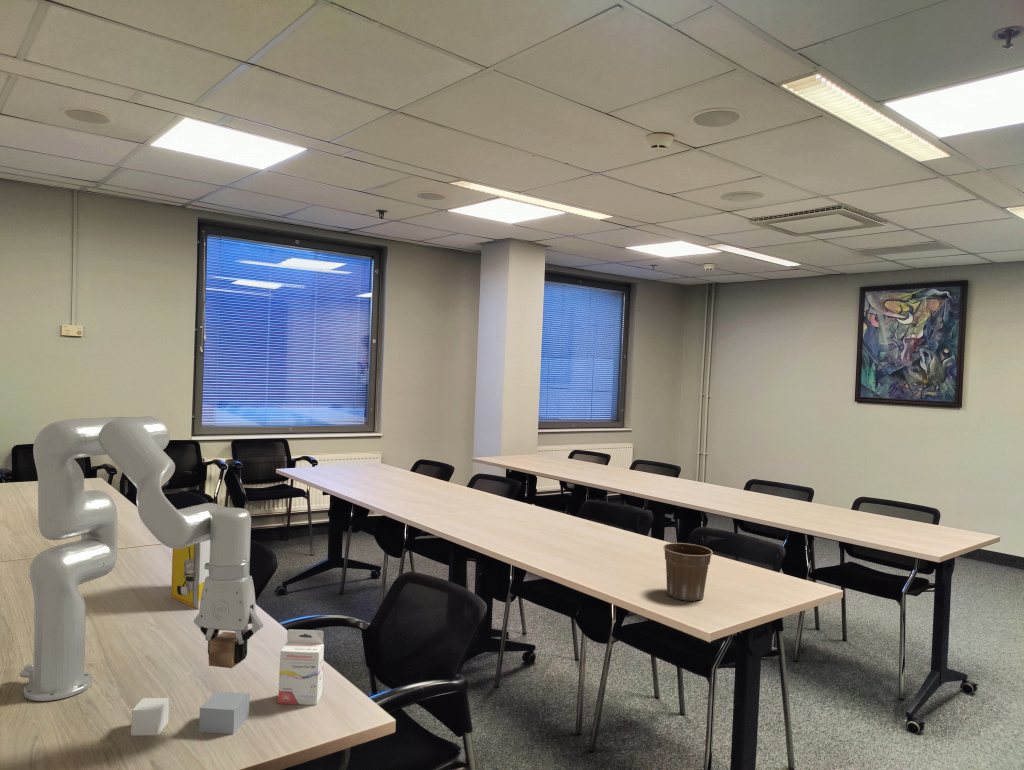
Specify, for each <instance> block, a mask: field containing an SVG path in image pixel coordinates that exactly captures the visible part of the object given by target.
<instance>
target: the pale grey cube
mask: <svg viewBox="0 0 1024 770" xmlns="http://www.w3.org/2000/svg"><path fill="white" fill-rule="evenodd" d="M169 707H170V697H143V698H142V699H141V700H140V701H139V702H138V703H137V704H136V705H135V707H133V709H132V710H131V724H130V725H131V726H130V727H131V728H130V729H131V730H130V735H131V736H159V734H160V733H161V732H162V730H163V729H164V728H165V727H166V726H167V724H168V723H169V713H170V712H169V710H170V709H169Z"/></svg>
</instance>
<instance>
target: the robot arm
mask: <svg viewBox="0 0 1024 770" xmlns="http://www.w3.org/2000/svg"><path fill="white" fill-rule="evenodd" d="M170 435H171V434H170V431H169V428H168V427H167V425H166V424H165V422H164V421H163V420H161V419H159V418H158V417H154V416H147V415H146V416H108V417H105V416H104V417H89V418H88V417H86V418H85V417H83V418H72V419H64V420H59V421H55V422H52V423H49V424H47V425H46V426H44V427H43V428H42V429H41V430H40V431H39V432H38V433H37V435H36V437H35V439H34V442H33V447H32V448H33V449H32V451H33V452H32V453H33V459H34V464H35V468H36V474H37V520H38V521H37V522H38V530H39V533H40V534H41V536H42V538H44V539H46V540H49V541H61V540H66V539H70V538H75V537H78V536H79V537H80V536H81V537H80V539H78V540H75V541H71V542H67V543H63V544H58V545H56V546H52V547H49V548H46V549H44V550H42V551H40V553H38V554H37V555H36V556H35V557H33V559H32V560H31V563H30V565H29V580H30V582H31V583H30V584H31V588H32V592H33V593H32V594H33V604H34V605H33V608H34V609H33V610H34V612H33V614H34V615H33V623H34V625H33V652H32V653H33V657H32V658H33V661H32V662H33V663H27V664H25V666H24V667H23V670H21V671H20V672H19V677H20V678H25V679H26V678H28V682H27V684H26V685H25V686H24V687H23V697H25V699H28V700H30V701H34V702H35V701H36V702H49V701H57V700H63V699H66V698H69V697H72V696H75V695H77V694H79V693H82V692H83V691H86V689H88V688H89V687H90V686H91V685H92V683H93V675H92V674H91V673H89V672H87V671H85V665H86V664H85V663H86V662H85V661H86V660H85V659H86V632H87V631H86V629H87V627H86V626H87V625H86V623H87V605H86V600H85V599H84V597H83V595H82V593H80V591H79V589H78V586H80V585H83V584H85V583H87V582H91V581H94V580H97V579H99V578H102V577H104V576H107V575H108V574H109V573H111V572H112V571H113V570H114V568H115V567H116V563H117V559H118V509H117V506H116V503H115V501H114V499H113V498H112V497H111V495H109V494H108V493H107V492H105V491H103V490H96V489H93V490H87V491H85V475H84V472H83V470H82V468H81V466H80V464H79V463H78V462H77V460H76V459H82V458H88V457H89V458H90V457H91V458H92V457H97V456H98V457H99V456H106V455H107V456H108V457H109V458H110V459H111V461H112V462H113V463H114V464H115V465H116V466H117V467H118V468H119V469H120V470H121V472H122V473H123V474H124V475H125V476H126V478H128V480H129V481H130V482H131V483H132V484H133V485H134V486H135V489H136V490H137V491H136V497H135V498H136V502H135V503H136V507H137V512H138V516H139V518H140V520H141V522H142V524H143V525H144V526H145V527H146V529H148V531H149V532H150V533H151V534H152V536H154V537H155V539H156V540H158V541H159V542H160V543H161V544H162V545H164V546H166V547H167V548H170V549H173V548H174V549H180V548H184V547H187V546H191V545H194V544H197V543H200V542H204V541H208V540H210V562H209V563H206V564H205V566H204V568H205V569H208V570H209V576H207V577H206V578H205V581H204V585H203V589H202V594H201V600H200V609H199V610H198V611H199V613H198V614H197V615H196V616H195V618H194V619H193V623H194V625H195V626H197V627H198V628H199V629H200V632H201V633H202V634H203V636H204V637H205V641H207V654H208V655H209V641H210V640H212V639H213V638H215V637H216V636H218V635H219V634H220V631H227V632H234V633H236V637H237V641H238V643H237V644H235V664H237V665H238V664H240V663H241V662H243V661H245V660H246V657H247V655H248V640H249V639H251V637H253V635H255V634H256V633H257V632H258V631H260V630H261V629H262V628H263V627H264V623H263V622H262V620H261V619H260V618H259V616H258V615H257V613H256V611H257V610H256V607H257V606H256V592H255V586H254V580H253V577H252V575H250V565H249V564H250V562H251V561H250V559H251V534H250V526H252V517H251V514H250V511H248V510H247V509H246V508H241V507H227V506H223V505H220V504H218V503H214V502H208V503H206V502H205V503H202V504H198V505H191V506H188V507H185V508H180V509H177V508H176V507H175V506H174V505H173V504H172V503H171V502H170V500H168V498H167V497H166V496H165V494H164V492H163V490H162V487H163V486H164V485H165V484H166V483H167V482H169V480H170V479H171V478H172V476H173V475H174V473H175V470H176V464H175V462H174V461H173V459H171V457H170V456H169V455H168V454H167V453H166V452H165V451H164V450H165V449H166V448H167V446H168V444H169V442H170ZM248 625H251V628H250V629H249V626H248Z"/></svg>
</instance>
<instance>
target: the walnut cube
mask: <svg viewBox="0 0 1024 770" xmlns="http://www.w3.org/2000/svg"><path fill="white" fill-rule="evenodd" d="M237 643H238V641H237V637H236V633H235V632H233V631H222V632H221V633H219V634H218V636H216V637H215V638H213V639H212V640H210V641H209V654H208V666H209V667H215V668H216V667H217V668H218V667H219V668H227V669H232V668H234V667H235V666H237V665H238V664H235V644H237Z"/></svg>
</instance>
